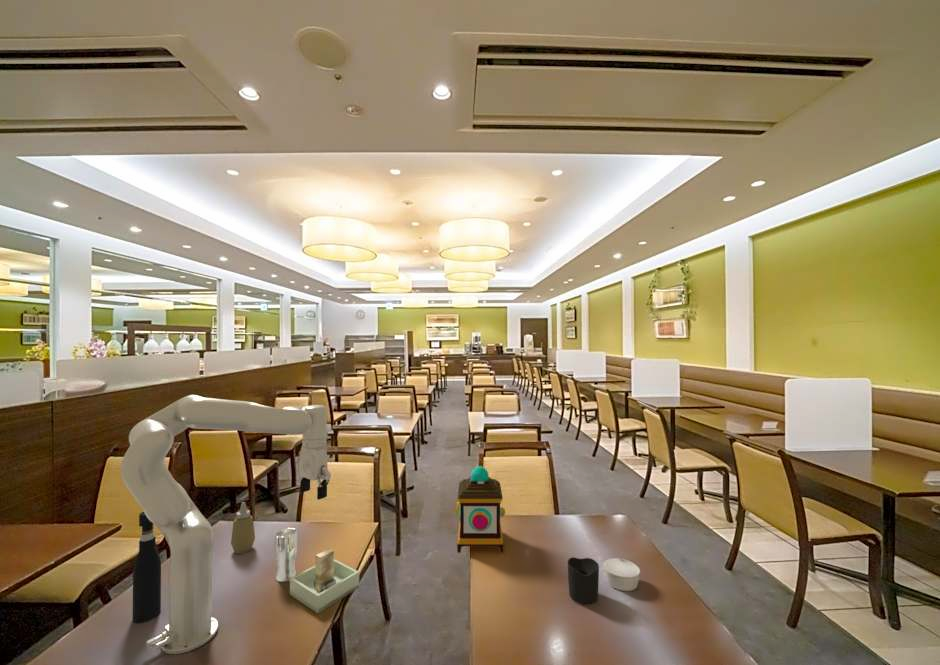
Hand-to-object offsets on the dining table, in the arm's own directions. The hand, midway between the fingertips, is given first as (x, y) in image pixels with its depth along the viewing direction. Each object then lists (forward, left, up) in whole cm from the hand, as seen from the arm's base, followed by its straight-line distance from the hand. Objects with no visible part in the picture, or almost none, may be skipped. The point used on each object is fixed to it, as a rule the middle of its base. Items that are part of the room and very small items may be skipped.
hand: (313, 494), depth 133 cm
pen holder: (+45, -76, -29) cm, 92 cm away
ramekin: (+59, -84, -29) cm, 106 cm away
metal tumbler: (-3, +10, -29) cm, 31 cm away
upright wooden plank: (0, -7, -28) cm, 29 cm away
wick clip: (0, -7, -29) cm, 30 cm away
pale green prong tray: (0, -7, -29) cm, 30 cm away
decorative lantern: (+54, -31, -29) cm, 68 cm away
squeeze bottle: (-3, +40, -29) cm, 50 cm away
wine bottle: (-37, +25, -29) cm, 54 cm away
